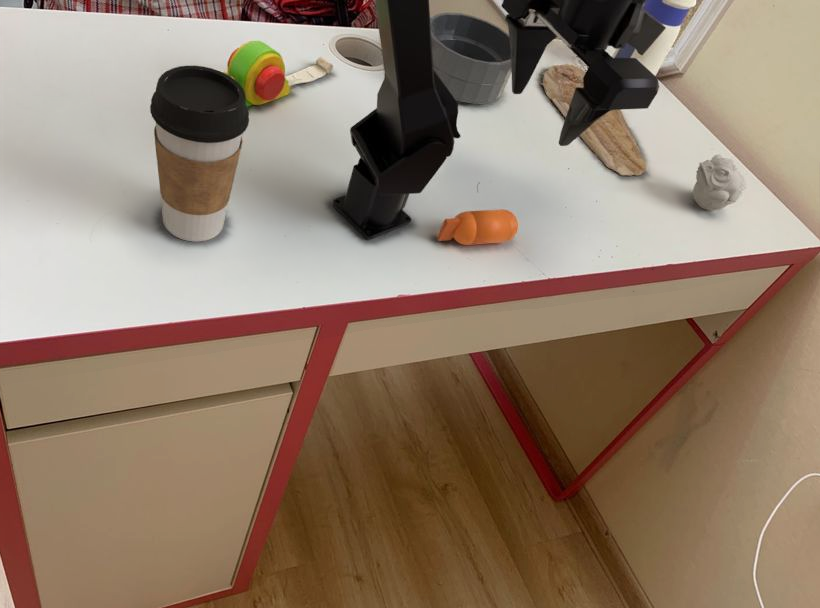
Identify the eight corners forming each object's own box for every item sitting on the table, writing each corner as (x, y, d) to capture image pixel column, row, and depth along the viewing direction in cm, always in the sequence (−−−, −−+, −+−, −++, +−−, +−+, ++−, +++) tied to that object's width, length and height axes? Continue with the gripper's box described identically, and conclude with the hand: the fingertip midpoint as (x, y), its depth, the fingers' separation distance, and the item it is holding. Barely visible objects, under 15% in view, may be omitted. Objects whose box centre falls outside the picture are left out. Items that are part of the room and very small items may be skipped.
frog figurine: (671, 185, 96) (702, 142, 90) (718, 196, 96) (751, 154, 91) (682, 214, 92) (715, 170, 86) (731, 225, 93) (766, 182, 87)
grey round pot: (457, 115, 95) (474, 71, 90) (395, 64, 100) (408, 19, 95) (518, 97, 102) (537, 54, 97) (457, 50, 107) (472, 7, 102)
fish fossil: (669, 175, 97) (674, 168, 96) (608, 181, 94) (612, 174, 93) (580, 67, 111) (583, 60, 110) (524, 69, 108) (526, 63, 107)
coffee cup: (154, 252, 67) (156, 114, 55) (145, 194, 71) (144, 55, 60) (243, 249, 70) (261, 117, 58) (228, 193, 74) (242, 61, 63)
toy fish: (442, 254, 76) (453, 230, 73) (430, 229, 78) (441, 205, 75) (515, 247, 80) (529, 225, 77) (502, 224, 81) (515, 201, 79)
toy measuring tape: (197, 96, 84) (200, 44, 79) (310, 58, 96) (319, 10, 91) (233, 124, 82) (239, 73, 77) (344, 81, 94) (355, 34, 89)
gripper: (744, 23, 62) (646, 169, 73) (618, -74, 71) (549, 68, 83) (654, 20, 57) (565, 176, 69) (532, -84, 67) (472, 69, 78)
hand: (539, 118), depth 75 cm, fingers open, 9 cm apart
